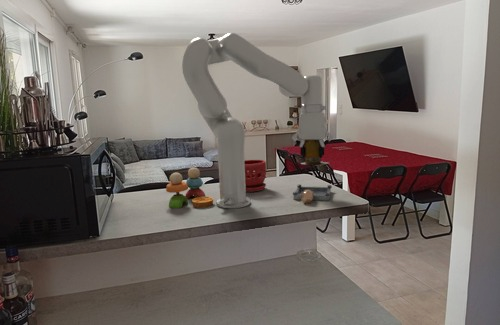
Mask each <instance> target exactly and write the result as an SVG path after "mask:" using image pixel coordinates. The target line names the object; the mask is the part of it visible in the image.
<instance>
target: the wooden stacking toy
mask: <svg viewBox="0 0 500 325" xmlns="http://www.w3.org/2000/svg"><path fill="white" fill-rule="evenodd" d="M200 175H201V171H200V169H199V168H197V167H190V168H189V169H188V171H187V176H188V177H187V180H186V181H183V178H184V177H183V176H182V174H181V173H179V172H173V173H171V175H170V176H169V182H170V183H168V184H167V185H166V188H165V192H167V193H170V194H171V193H172V194H173V193H175V194H173V195H172V196H171V197H170V198H169V200H168V201H169V202H168V208H169V209H182V207H183V204H189V198H191V197H193V198H192V199H191V202H192V205H193V207H194V208H207V207H208V208H210V207H211V206H213V203H214V198H213V197H212V196H206V194H205V191H203V190H202V189H201V187H202V186H203V185H204V182H203V180H202V178H201V177H200ZM184 191H185V192H186V193H185V195H184V194H182V192H184Z"/></svg>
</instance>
